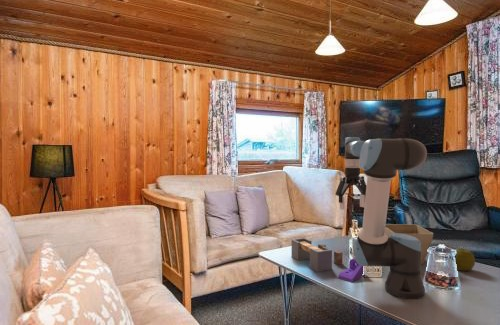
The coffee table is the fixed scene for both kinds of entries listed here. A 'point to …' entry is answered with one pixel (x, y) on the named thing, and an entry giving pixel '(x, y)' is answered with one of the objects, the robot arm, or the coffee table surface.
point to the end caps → (312, 255)
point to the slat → (308, 247)
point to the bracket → (352, 271)
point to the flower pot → (414, 231)
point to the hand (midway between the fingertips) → (352, 208)
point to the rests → (337, 255)
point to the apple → (464, 260)
